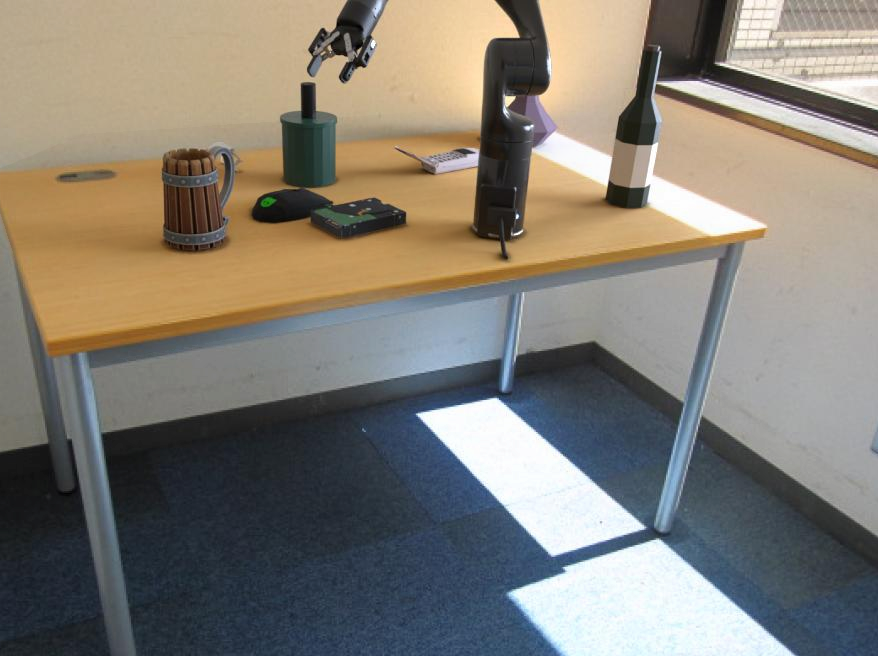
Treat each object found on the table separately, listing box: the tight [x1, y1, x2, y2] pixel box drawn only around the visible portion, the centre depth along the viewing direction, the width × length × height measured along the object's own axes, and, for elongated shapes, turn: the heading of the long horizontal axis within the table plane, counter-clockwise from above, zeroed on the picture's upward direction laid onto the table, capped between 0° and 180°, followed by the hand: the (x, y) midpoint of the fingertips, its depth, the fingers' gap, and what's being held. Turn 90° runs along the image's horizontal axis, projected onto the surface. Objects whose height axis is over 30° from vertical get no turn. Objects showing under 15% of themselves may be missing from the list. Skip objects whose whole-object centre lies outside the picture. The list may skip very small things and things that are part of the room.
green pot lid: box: [279, 81, 338, 128], centre depth 178 cm, size 12×12×8 cm
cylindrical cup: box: [281, 123, 337, 188], centre depth 183 cm, size 11×11×12 cm
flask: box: [506, 95, 559, 148], centre depth 214 cm, size 16×16×20 cm
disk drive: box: [309, 197, 407, 239], centre depth 163 cm, size 10×3×15 cm
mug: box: [161, 146, 236, 252], centre depth 151 cm, size 16×11×15 cm
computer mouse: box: [251, 187, 334, 224], centre depth 168 cm, size 11×16×4 cm
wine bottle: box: [604, 44, 663, 209], centre depth 173 cm, size 8×8×30 cm
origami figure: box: [205, 141, 244, 173], centre depth 189 cm, size 12×8×5 cm
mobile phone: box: [393, 145, 479, 175], centre depth 195 cm, size 6×6×25 cm
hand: (325, 77), depth 180 cm, fingers open, 8 cm apart
